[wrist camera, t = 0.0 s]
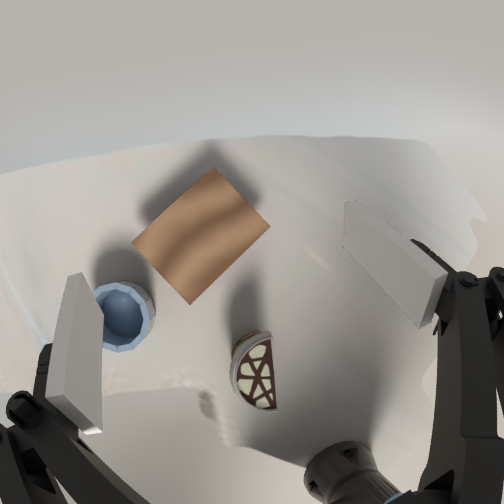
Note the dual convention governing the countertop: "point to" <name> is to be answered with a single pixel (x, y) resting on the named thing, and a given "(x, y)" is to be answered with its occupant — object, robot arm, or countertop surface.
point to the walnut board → (200, 235)
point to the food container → (254, 371)
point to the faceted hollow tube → (124, 314)
